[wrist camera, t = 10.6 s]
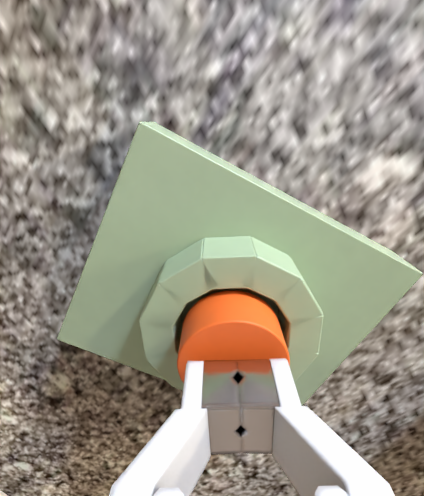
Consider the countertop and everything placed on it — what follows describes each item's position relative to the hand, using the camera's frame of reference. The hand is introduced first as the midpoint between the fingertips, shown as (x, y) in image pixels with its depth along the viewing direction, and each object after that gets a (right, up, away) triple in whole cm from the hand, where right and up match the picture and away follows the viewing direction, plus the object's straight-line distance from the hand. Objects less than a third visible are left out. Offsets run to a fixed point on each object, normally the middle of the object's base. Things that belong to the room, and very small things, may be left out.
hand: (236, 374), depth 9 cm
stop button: (0, +1, +2) cm, 2 cm away
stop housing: (0, +2, +5) cm, 6 cm away
